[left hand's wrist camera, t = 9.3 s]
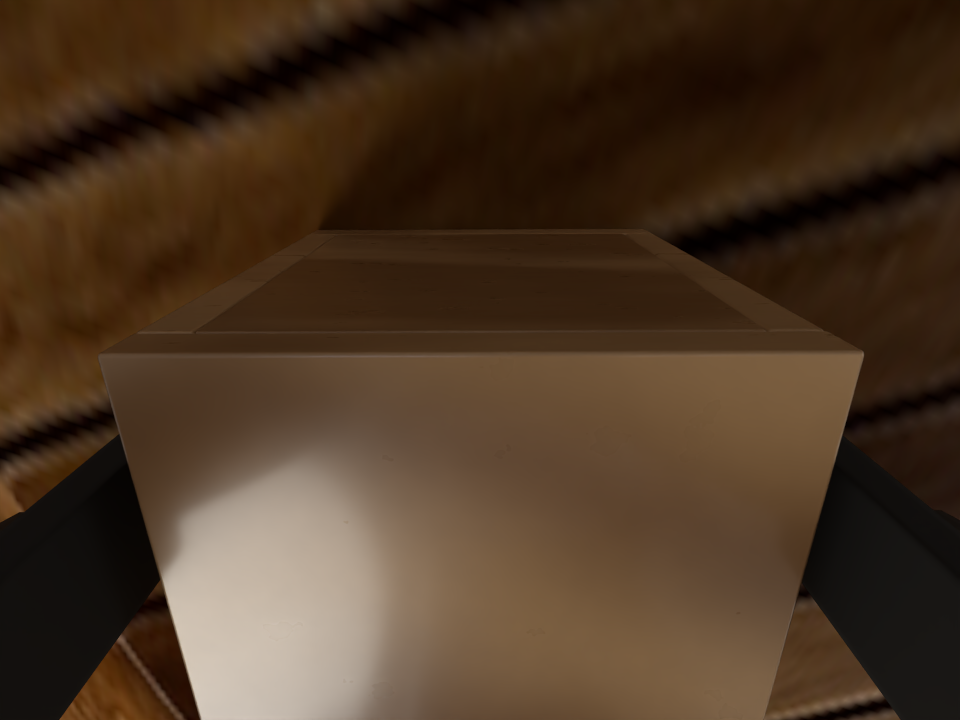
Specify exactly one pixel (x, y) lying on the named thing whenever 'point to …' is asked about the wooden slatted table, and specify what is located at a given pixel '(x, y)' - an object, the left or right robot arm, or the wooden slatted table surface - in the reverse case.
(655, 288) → the cabinet
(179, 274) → the wooden slatted table surface
